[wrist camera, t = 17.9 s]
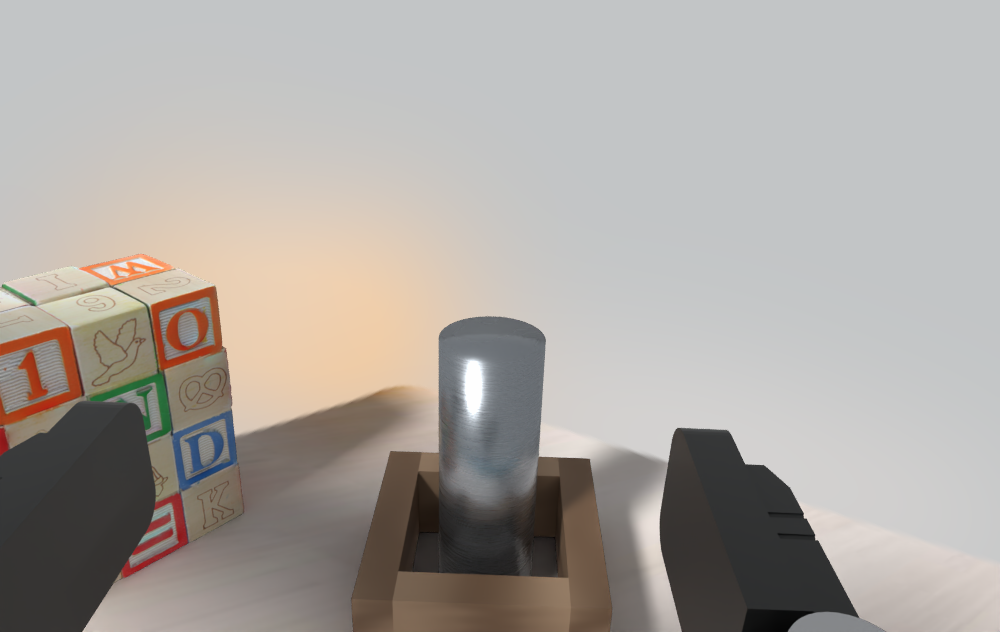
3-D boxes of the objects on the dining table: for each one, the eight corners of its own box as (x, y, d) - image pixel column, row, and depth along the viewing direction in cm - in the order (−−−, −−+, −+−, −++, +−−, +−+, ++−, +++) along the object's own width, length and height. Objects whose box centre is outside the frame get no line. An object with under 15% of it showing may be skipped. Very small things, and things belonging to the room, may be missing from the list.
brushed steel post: (434, 618, 32) (433, 360, 27) (443, 552, 35) (443, 314, 31) (531, 622, 32) (547, 365, 27) (529, 555, 35) (543, 318, 31)
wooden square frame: (355, 668, 29) (351, 599, 28) (392, 510, 38) (390, 451, 37) (603, 678, 29) (612, 609, 28) (584, 518, 38) (589, 458, 37)
